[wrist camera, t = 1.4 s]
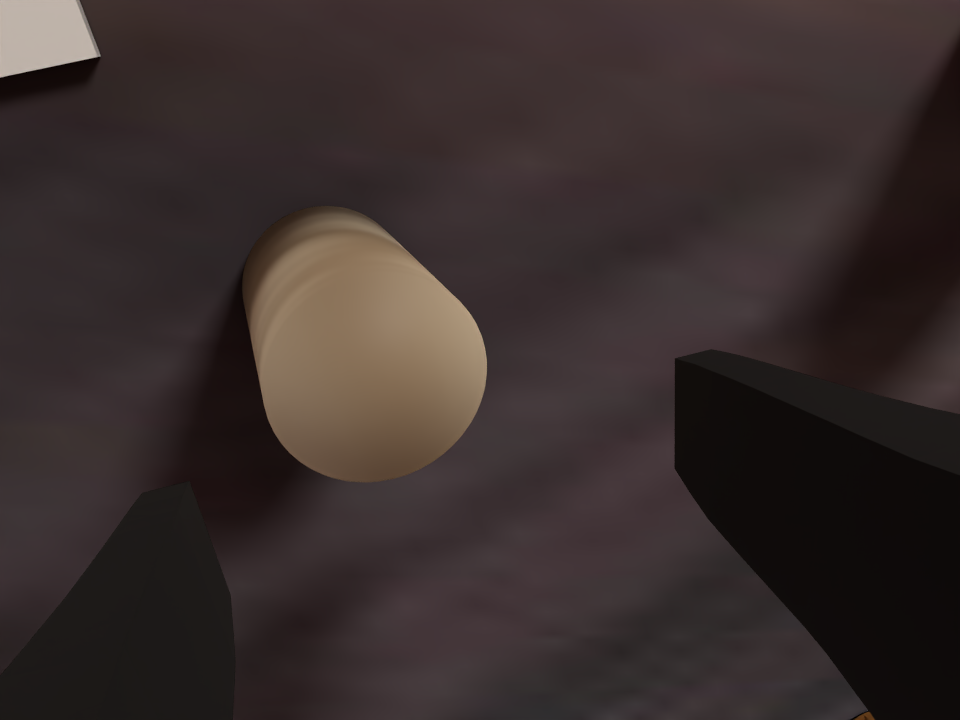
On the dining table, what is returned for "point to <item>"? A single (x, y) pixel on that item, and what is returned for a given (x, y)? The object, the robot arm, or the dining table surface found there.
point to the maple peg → (358, 347)
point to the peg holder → (43, 35)
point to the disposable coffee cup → (865, 717)
